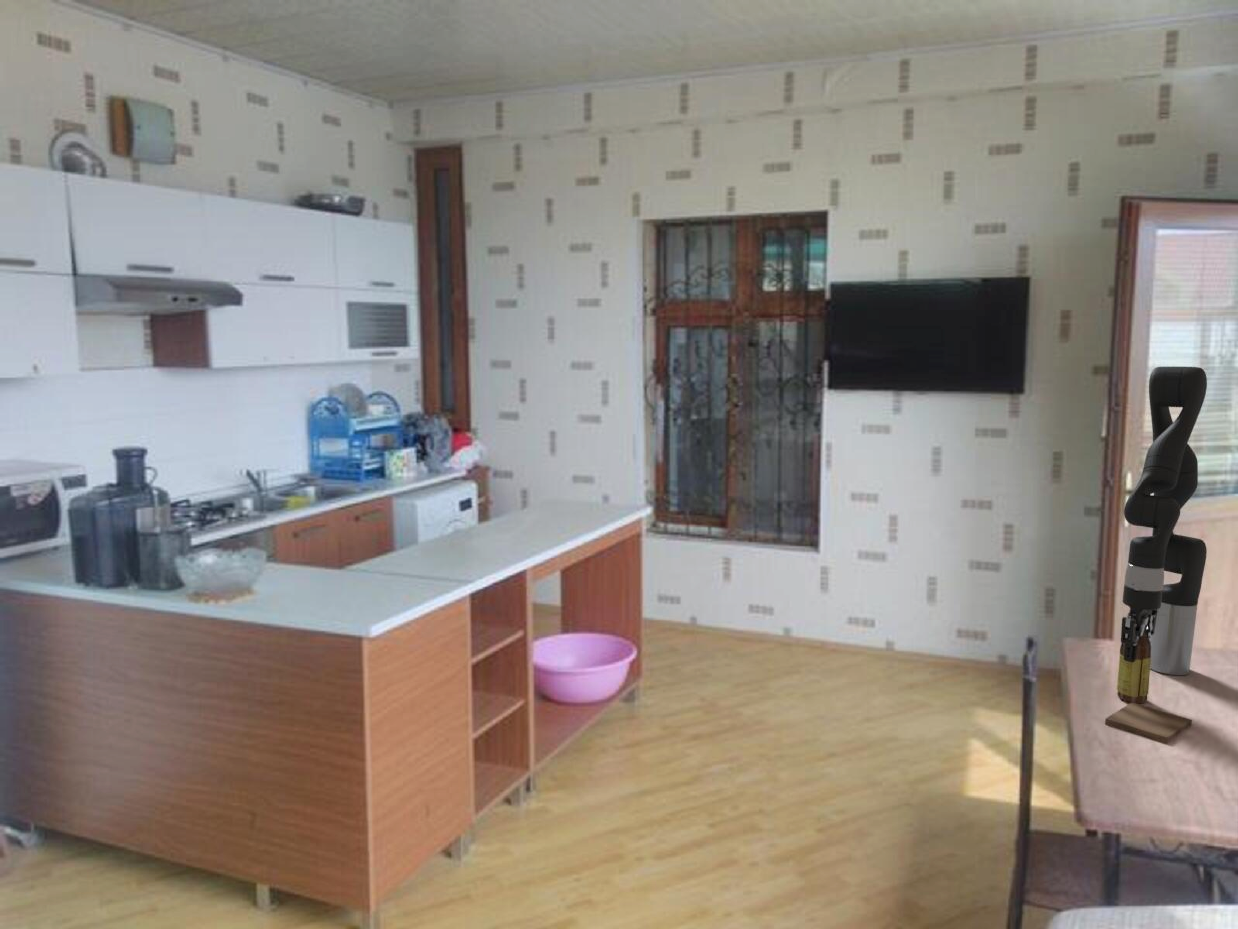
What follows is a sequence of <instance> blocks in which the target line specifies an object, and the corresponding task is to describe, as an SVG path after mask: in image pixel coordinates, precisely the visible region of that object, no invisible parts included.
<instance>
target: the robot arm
mask: <svg viewBox="0 0 1238 929" xmlns="http://www.w3.org/2000/svg"><path fill="white" fill-rule="evenodd" d="M1207 385H1208V379H1207V374H1206V371H1205V370H1204V369H1203V368H1202V367H1198V366H1157V367H1154V368H1153V369H1152V371H1151V373H1150V376H1149V379H1148V398H1149V406H1150V408H1149V409H1150V417H1151V418H1150V419H1151V428H1152V443H1151V445H1150V446H1149V448H1148V450H1147V453H1146V456H1145V460H1144V464H1143V467H1142V473H1141V475H1140V478H1139V480H1138V482H1137V484H1136V486H1135V488H1134V489H1133V491H1132V492H1131V493H1130V495H1129V497H1128V498H1127V501H1126V502H1125V504H1124V507H1123V515H1124V518H1125V521H1127V523H1128V524H1129V525H1132V526H1137V527H1143V528H1150V529H1152V535H1151V536H1150V535H1149V536H1147V535H1146V536H1137V537H1136V536H1135V537H1133V538H1132V539H1131V540H1130V543H1129V550H1128V551H1129V552H1128V562H1127V567H1126V569H1125V570H1126V571H1125V573H1124V574H1125V575H1124V585H1123V591H1122V592H1123V593H1122V604H1124V605H1125V606H1128V607H1129V612H1127V616H1123V617H1122V618H1121V631H1120V632H1121V633H1120V644H1121V643H1124V644H1125V651H1124V660H1125V661H1128V662H1135V660H1136V651H1137V644H1138V640H1139V637H1142V635H1143V632H1144V628H1145V625H1147V636H1148V638H1149V640H1150V643H1151V664H1150V670H1151V671H1155V672H1158V673H1161V674H1167V675H1171V676H1173V675H1174V676H1186V675H1189V674H1190V668H1191V662H1192V652H1193V645H1194V638H1195V637H1194V636H1195V630H1196V629H1195V628H1196V622H1197V621H1196V620H1197V613H1198V612H1197V611H1198V605H1199V598H1200V593H1201V590H1202V583H1203V577H1204V572H1205V566H1206V561H1207V550H1208V549H1207V546H1206V543H1205V541H1204V540H1203V539H1201V538H1196V537H1192V536H1186V535H1181V534H1175V533H1174V529H1175V527H1176V525H1177V523H1178V521H1179V518H1180V516H1181V509H1183V508H1184V506H1185V505H1186V503H1188V502H1189V500H1190V499H1191V498H1192V497H1193V495H1194V494H1195V492H1196V490H1197V488H1198V486H1199V485H1198V484H1199V480H1198V479H1199V474H1198V473H1199V468H1198V466H1199V465H1198V464H1199V462H1198V458H1197V456H1196V453H1195V451H1194V450H1193V449H1192V448H1191V446H1190V444H1189V443H1188V442H1189V439H1190V437H1191V434H1192V432H1193V430H1194V428H1195V425H1196V423H1197V420H1198V418H1199V415H1200V414H1201V413H1200V412H1201V410H1202V407H1203V404H1204V401H1205V398H1206V394H1207V387H1208V386H1207ZM1170 408H1181V410H1180V412H1179V414H1178V416H1177V417H1176V419H1175V420H1173V418H1172V416H1171V412H1170ZM1152 494H1153V495H1152ZM1165 572H1169V573H1174V574H1177V575H1181V578H1180V581H1178V582H1175V583H1168V584H1166V583H1165ZM1164 583H1165V584H1164ZM1146 614H1148V616H1149V620H1148V617H1144V616H1145V615H1146ZM1135 630H1137V631H1138V632H1136V631H1135ZM1130 636H1131V638H1130V639H1129V637H1130Z"/></svg>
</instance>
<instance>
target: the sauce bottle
mask: <svg viewBox="0 0 1238 929" xmlns="http://www.w3.org/2000/svg"><path fill="white" fill-rule="evenodd" d="M1144 617H1148V620H1149V616H1148V614H1146V615H1145V616H1144ZM1147 626H1148V625H1145V628H1144V632H1143V635H1142V637H1139V640H1138V644H1137V651H1136V660H1135V662H1128V661H1125V660H1124V651H1125V644H1124V643H1121V642H1120V647H1119V659H1118V671H1117V685H1116V691H1117V697H1118V698H1119V699H1121V700H1122V701H1125V702H1127V703H1132V702H1133V703H1136V704H1144V703H1146V702H1147V701H1148V695H1149V692H1150V690H1149V689H1150V678H1151V677H1150V674H1151V669H1150V664H1151V643H1150V640H1149V638H1148V636H1147ZM1135 631H1136V632H1138V631H1137V630H1135ZM1130 638H1131V636H1130V637H1129V639H1130Z"/></svg>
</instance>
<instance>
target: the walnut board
mask: <svg viewBox="0 0 1238 929" xmlns="http://www.w3.org/2000/svg"><path fill="white" fill-rule="evenodd" d="M1104 722H1105V725H1107V726H1111V727H1114V728H1117V729H1120V730H1123V731H1126V732H1130V733H1133V734H1136V735H1138V736H1142V737H1145V738H1149V739H1152V740H1154V741H1158V742H1162V743H1165V744H1168V743H1169V742H1171V741H1172V740H1173V739H1175V738H1176V737H1178V736H1179V735H1181V734H1182V733H1183V732H1185V731H1186V730H1187V729H1189V728H1190V727H1191V726H1192V725H1193V719H1190V718H1187V717H1183V716H1181V715H1176V714H1174V713H1170V712H1166V711H1163V710H1161V709H1160V710H1159V709H1156V708H1153V707H1149V706H1146V705H1143V704H1141V703H1133V702H1129V704H1127V705H1125V706H1123V707H1121V708H1120V709H1119V710H1117V711H1116V712H1114V713H1112V714H1111V715H1109V716H1107V717H1105V721H1104Z"/></svg>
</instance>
